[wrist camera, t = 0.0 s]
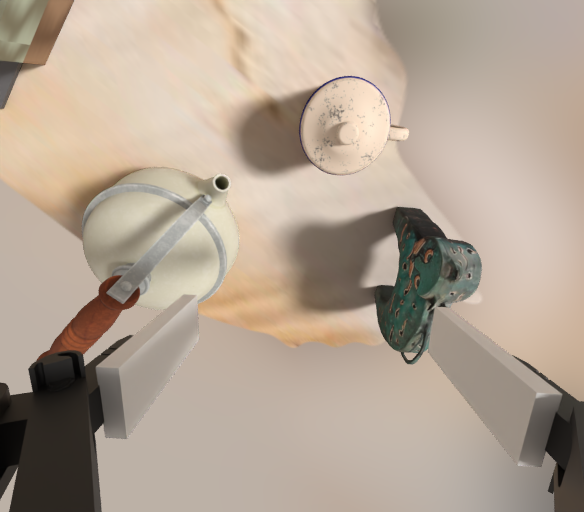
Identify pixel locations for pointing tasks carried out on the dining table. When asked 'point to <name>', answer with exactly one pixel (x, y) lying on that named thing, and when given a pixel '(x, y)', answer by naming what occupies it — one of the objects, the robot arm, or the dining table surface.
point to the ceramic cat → (423, 281)
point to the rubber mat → (7, 79)
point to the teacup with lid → (346, 125)
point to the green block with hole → (30, 28)
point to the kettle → (152, 247)
